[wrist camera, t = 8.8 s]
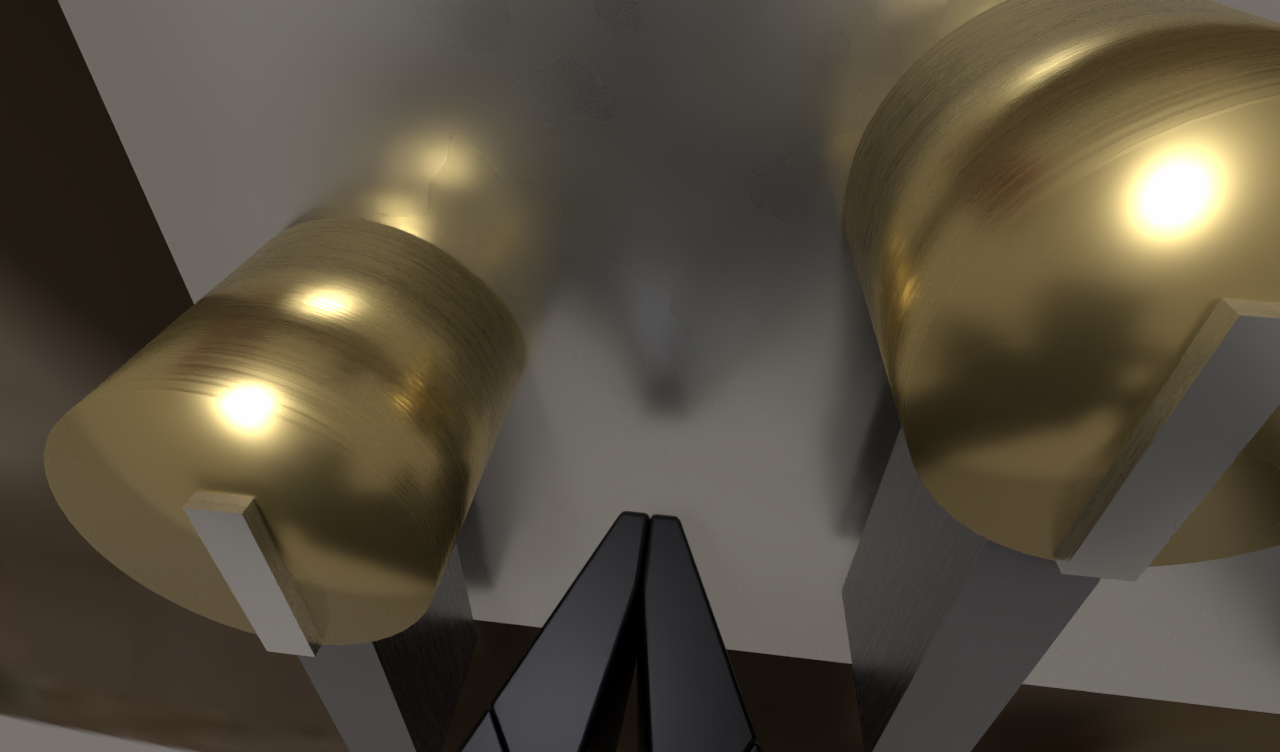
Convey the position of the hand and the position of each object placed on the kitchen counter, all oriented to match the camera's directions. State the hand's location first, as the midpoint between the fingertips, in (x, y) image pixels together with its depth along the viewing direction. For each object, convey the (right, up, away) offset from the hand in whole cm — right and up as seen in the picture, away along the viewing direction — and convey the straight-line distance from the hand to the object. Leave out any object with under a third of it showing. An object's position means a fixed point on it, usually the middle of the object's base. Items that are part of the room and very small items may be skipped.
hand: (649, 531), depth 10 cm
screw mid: (+4, +2, -1) cm, 5 cm away
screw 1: (-4, +1, +2) cm, 4 cm away
